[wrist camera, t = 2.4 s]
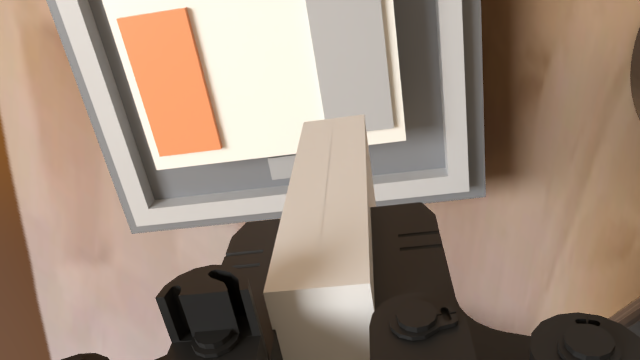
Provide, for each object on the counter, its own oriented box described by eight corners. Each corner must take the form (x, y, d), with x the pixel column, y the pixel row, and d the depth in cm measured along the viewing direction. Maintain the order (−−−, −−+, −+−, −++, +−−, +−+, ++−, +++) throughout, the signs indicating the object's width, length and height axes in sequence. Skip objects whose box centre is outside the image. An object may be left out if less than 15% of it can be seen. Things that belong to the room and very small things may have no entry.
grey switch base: (458, -193, 25) (484, -216, 20) (471, 164, 33) (492, 212, 28) (50, -114, 27) (-19, -117, 22) (154, 200, 35) (121, 249, 30)
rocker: (386, -51, 23) (389, -46, 21) (403, 126, 26) (406, 143, 25) (117, -7, 24) (98, 1, 23) (167, 155, 28) (154, 172, 26)
